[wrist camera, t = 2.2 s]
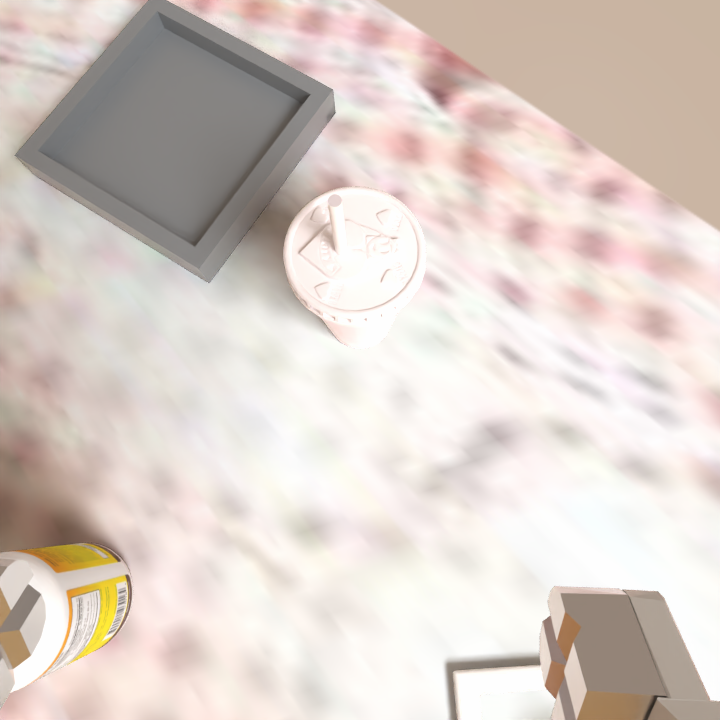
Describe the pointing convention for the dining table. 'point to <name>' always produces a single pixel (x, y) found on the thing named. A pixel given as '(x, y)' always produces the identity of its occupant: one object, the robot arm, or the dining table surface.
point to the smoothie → (355, 261)
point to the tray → (180, 135)
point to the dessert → (491, 686)
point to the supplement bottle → (74, 603)
